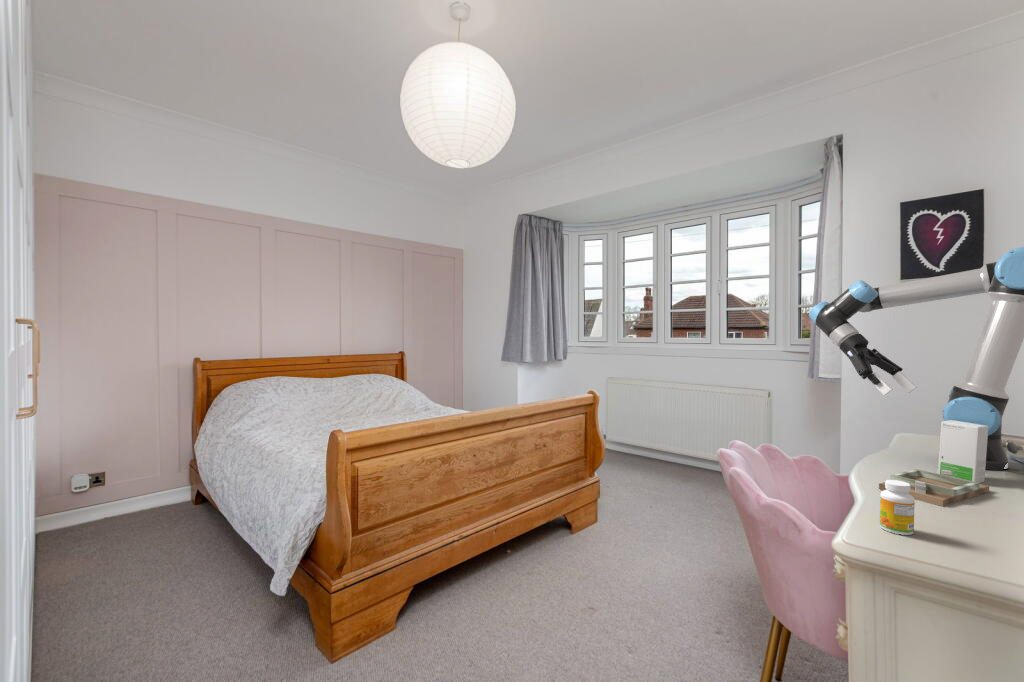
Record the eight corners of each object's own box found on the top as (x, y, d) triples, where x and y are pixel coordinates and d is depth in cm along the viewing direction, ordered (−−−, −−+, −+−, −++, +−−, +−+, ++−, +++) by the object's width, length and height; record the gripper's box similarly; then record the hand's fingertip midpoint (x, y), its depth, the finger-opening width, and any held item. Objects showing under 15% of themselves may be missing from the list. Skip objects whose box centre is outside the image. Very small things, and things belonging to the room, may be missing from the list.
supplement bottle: (875, 523, 100) (876, 477, 100) (907, 527, 98) (908, 480, 98) (884, 533, 95) (886, 484, 95) (918, 537, 93) (919, 488, 93)
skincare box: (936, 476, 133) (938, 421, 133) (947, 473, 136) (949, 419, 136) (976, 485, 126) (978, 426, 126) (987, 482, 129) (989, 424, 129)
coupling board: (926, 477, 132) (926, 465, 132) (989, 491, 121) (989, 478, 121) (878, 489, 122) (879, 476, 122) (942, 506, 110) (943, 492, 110)
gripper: (862, 347, 165) (911, 396, 152) (817, 348, 155) (867, 400, 141) (879, 332, 160) (933, 381, 147) (835, 332, 150) (888, 385, 136)
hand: (900, 391), depth 144 cm, fingers open, 13 cm apart
